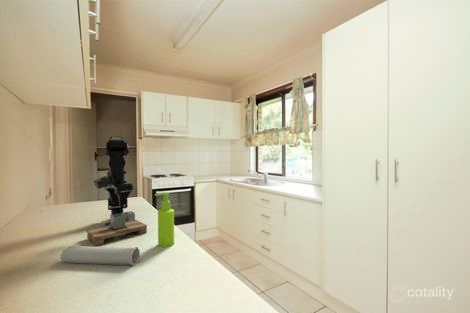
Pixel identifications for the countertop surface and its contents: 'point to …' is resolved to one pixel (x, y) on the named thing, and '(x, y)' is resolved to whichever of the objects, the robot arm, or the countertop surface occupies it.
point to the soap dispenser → (165, 222)
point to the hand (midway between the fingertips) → (117, 205)
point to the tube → (101, 255)
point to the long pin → (117, 223)
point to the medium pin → (129, 216)
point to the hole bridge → (114, 232)
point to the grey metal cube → (105, 223)
